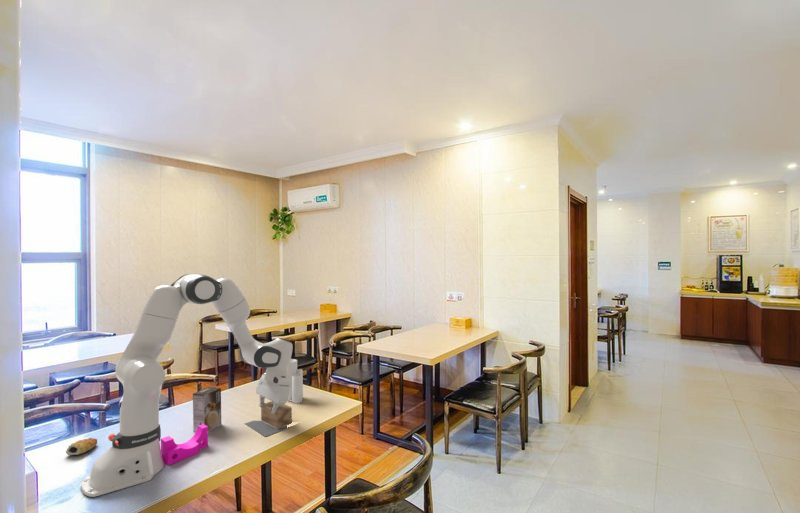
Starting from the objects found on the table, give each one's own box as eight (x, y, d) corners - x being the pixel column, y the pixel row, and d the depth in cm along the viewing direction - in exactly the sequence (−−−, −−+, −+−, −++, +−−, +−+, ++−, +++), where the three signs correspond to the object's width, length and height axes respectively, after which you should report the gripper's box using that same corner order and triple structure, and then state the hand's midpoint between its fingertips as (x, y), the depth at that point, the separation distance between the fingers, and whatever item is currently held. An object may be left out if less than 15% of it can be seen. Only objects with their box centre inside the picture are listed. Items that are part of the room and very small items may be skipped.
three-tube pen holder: (281, 401, 192) (280, 361, 192) (291, 397, 198) (291, 358, 198) (297, 406, 186) (297, 364, 186) (308, 401, 192) (307, 361, 192)
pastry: (87, 443, 149) (86, 433, 149) (103, 443, 148) (102, 433, 148) (63, 456, 140) (63, 445, 140) (81, 456, 139) (80, 445, 139)
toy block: (168, 465, 133) (168, 443, 133) (160, 459, 137) (160, 438, 137) (211, 448, 145) (211, 428, 145) (203, 443, 149) (203, 424, 149)
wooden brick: (276, 429, 160) (276, 412, 160) (261, 420, 168) (261, 404, 168) (291, 423, 165) (291, 407, 165) (275, 415, 174) (275, 400, 174)
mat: (265, 437, 153) (265, 436, 153) (244, 424, 165) (244, 423, 165) (326, 414, 176) (326, 413, 176) (303, 404, 188) (303, 403, 188)
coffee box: (210, 423, 167) (210, 386, 167) (221, 425, 165) (221, 387, 165) (192, 432, 158) (192, 393, 158) (204, 434, 156) (204, 394, 156)
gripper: (257, 371, 171) (248, 403, 168) (281, 381, 157) (272, 416, 155) (269, 372, 176) (261, 403, 173) (294, 382, 162) (286, 416, 159)
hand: (266, 410), depth 164 cm, fingers open, 8 cm apart
